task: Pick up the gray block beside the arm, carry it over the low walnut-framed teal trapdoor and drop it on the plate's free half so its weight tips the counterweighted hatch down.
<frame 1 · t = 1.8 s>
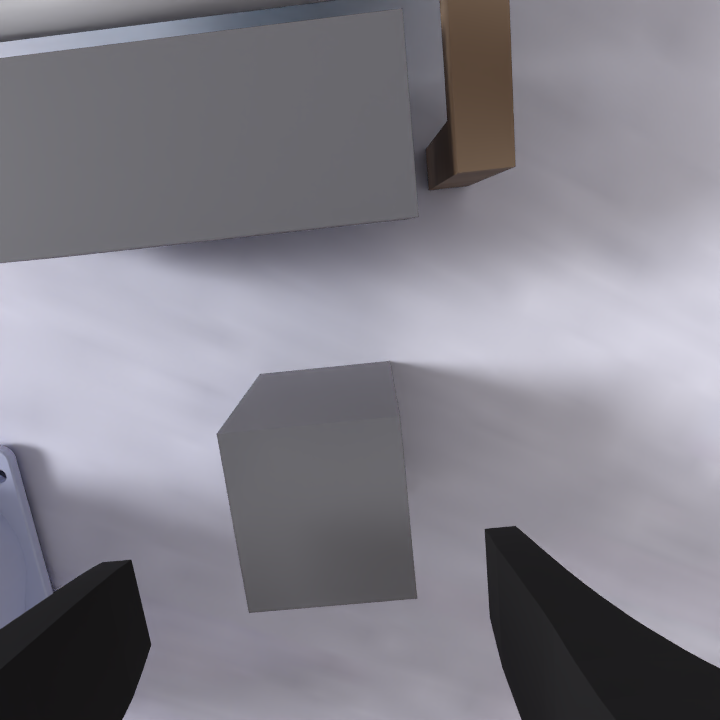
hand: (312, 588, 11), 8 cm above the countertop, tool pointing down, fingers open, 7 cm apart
gray block: (333, 436, 19), on the countertop
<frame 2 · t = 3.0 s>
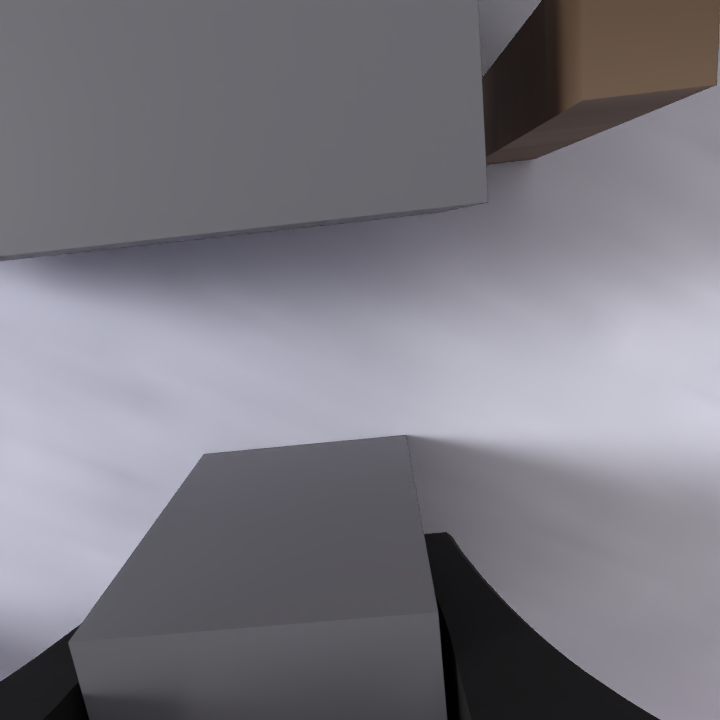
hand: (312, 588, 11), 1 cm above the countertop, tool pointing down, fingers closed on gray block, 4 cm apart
gray block: (318, 547, 12), on the countertop, touching gripper
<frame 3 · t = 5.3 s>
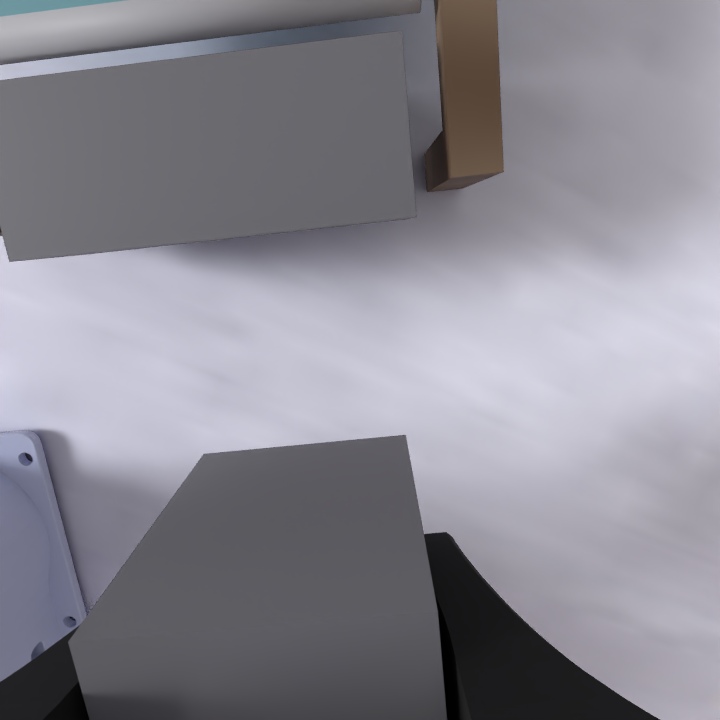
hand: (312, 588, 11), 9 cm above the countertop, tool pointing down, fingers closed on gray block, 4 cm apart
gray block: (318, 547, 12), point 8 cm above the countertop, touching gripper
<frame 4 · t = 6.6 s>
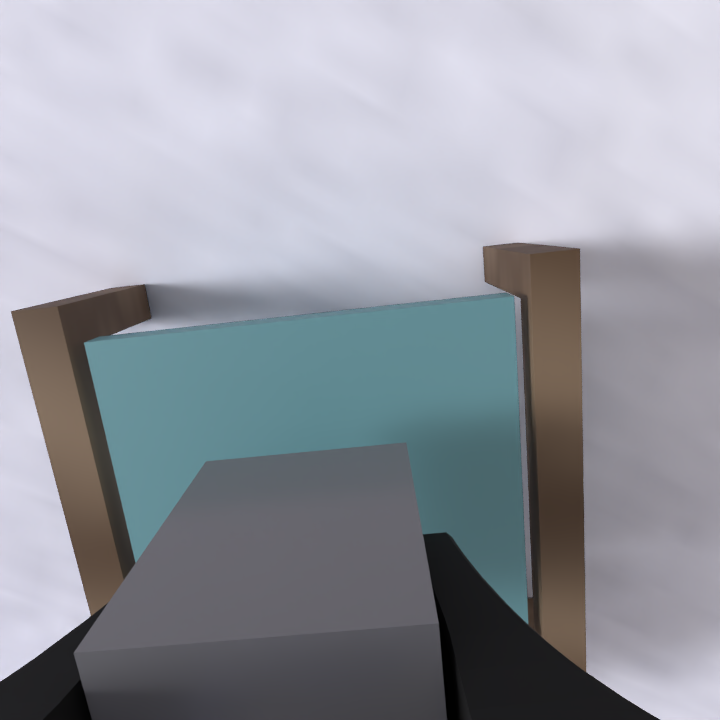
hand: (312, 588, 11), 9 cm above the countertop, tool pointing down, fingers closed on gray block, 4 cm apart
trapdoor: (335, 541, 17), point 4 cm above the countertop, hinge at 0.0°
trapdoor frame: (332, 428, 20), on the countertop
gray block: (319, 553, 12), point 8 cm above the countertop, touching gripper
when the fingers open (9 cm above the countertop, at t = 7.6 s): gray block drops 3 cm, resting on trapdoor.
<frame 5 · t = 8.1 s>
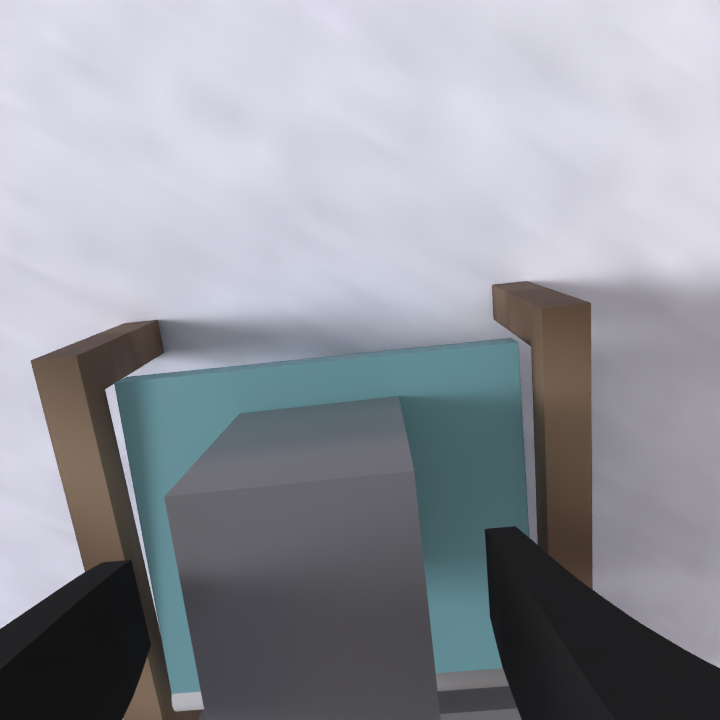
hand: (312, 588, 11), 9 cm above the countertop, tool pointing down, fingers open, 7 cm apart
trapdoor: (346, 577, 18), point 3 cm above the countertop, hinge at -4.1°, touching gray block
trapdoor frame: (342, 460, 20), on the countertop
gray block: (330, 490, 15), point 5 cm above the countertop, touching trapdoor
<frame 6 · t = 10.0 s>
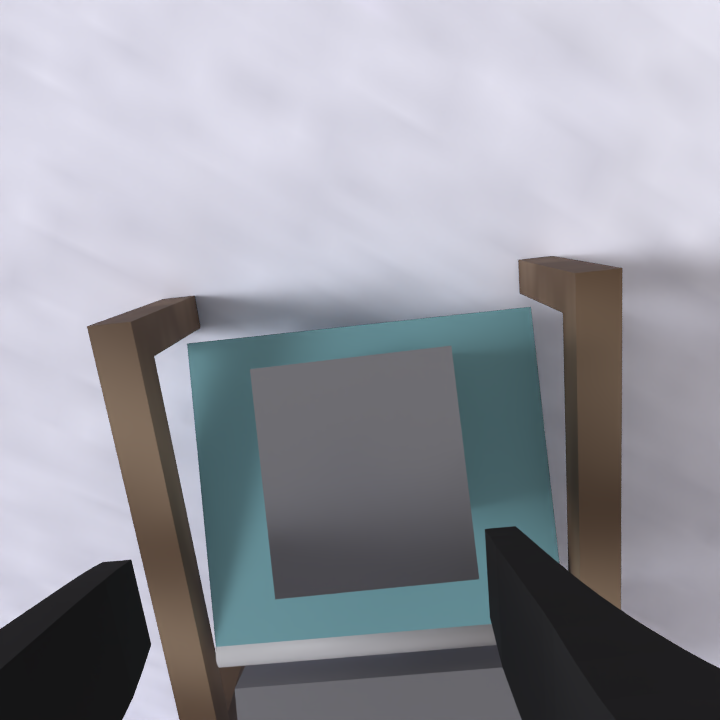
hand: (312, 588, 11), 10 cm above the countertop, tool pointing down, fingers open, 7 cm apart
trapdoor: (381, 543, 19), point 3 cm above the countertop, hinge at -15.3°, touching gray block
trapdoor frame: (371, 432, 21), on the countertop
gray block: (369, 440, 17), point 4 cm above the countertop, tilted 15°, touching trapdoor
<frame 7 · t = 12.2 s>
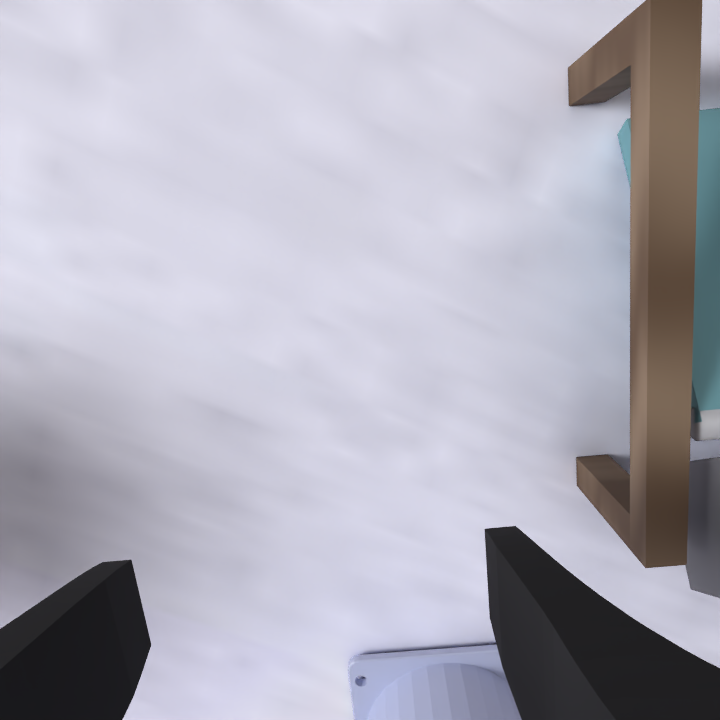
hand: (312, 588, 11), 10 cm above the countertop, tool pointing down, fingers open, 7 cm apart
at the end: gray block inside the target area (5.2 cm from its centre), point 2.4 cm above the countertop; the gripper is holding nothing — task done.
